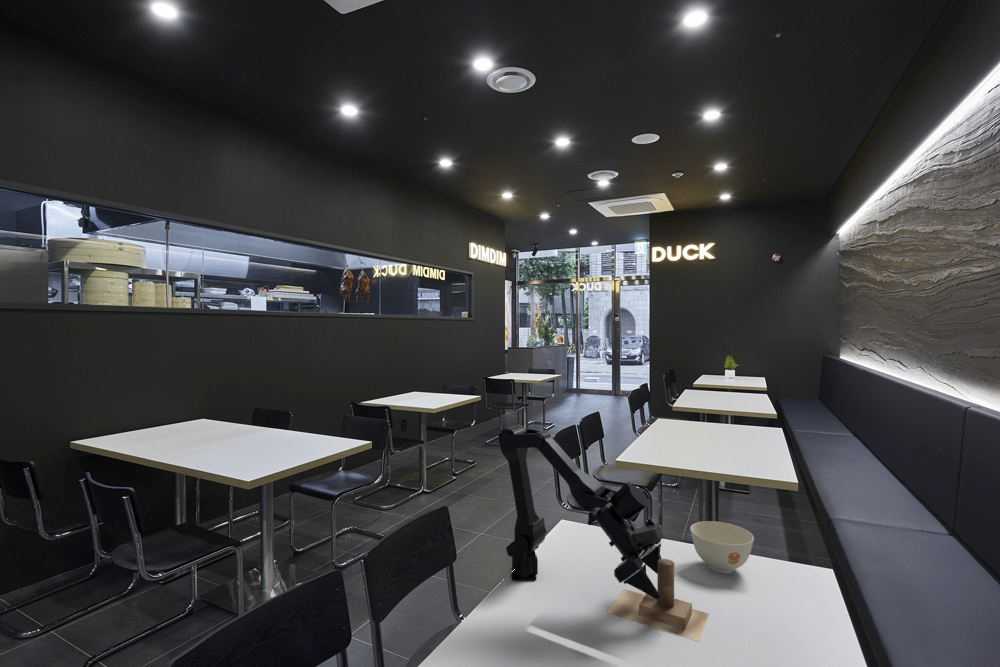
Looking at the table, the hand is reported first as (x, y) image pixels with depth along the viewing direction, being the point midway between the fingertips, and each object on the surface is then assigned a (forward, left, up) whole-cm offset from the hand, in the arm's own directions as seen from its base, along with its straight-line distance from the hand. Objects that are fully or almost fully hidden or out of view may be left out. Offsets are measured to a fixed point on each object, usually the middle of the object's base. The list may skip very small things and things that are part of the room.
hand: (663, 588), depth 114 cm
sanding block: (0, 0, -6) cm, 6 cm away
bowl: (+25, +23, -7) cm, 35 cm away
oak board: (-1, +1, -7) cm, 7 cm away
